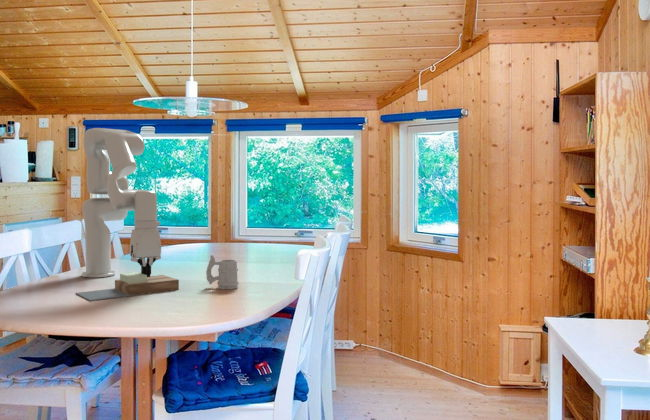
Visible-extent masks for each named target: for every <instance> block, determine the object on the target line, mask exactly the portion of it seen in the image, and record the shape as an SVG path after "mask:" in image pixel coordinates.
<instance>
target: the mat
mask: <svg viewBox="0 0 650 420" xmlns="http://www.w3.org/2000/svg"><path fill="white" fill-rule="evenodd" d="M75 295H77V296H79V297H81V298H83V299H85V300H86V301H89V302H95V301H104V300H111V299H119V298H126V297H127V298H128V297H134V295H133V294H130V295H129V294H127V293H124V292H122V291H119V290H117V289H115V287H114V288H104V289H97V290H89V291H83V292H82V291H81V292H75Z"/></svg>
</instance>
